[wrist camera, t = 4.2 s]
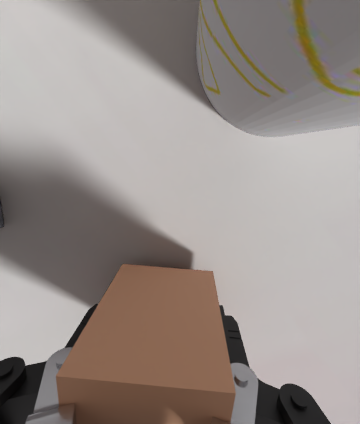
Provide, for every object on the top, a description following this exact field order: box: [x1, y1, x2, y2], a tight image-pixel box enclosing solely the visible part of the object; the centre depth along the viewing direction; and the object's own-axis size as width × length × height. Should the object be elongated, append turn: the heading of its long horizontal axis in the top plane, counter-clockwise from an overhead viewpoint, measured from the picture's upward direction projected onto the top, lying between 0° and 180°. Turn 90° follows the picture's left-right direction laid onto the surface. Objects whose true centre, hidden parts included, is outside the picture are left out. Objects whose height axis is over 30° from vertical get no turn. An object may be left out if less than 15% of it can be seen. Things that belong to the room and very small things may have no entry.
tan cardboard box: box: [56, 264, 236, 424], centre depth 10 cm, size 5×5×7 cm
